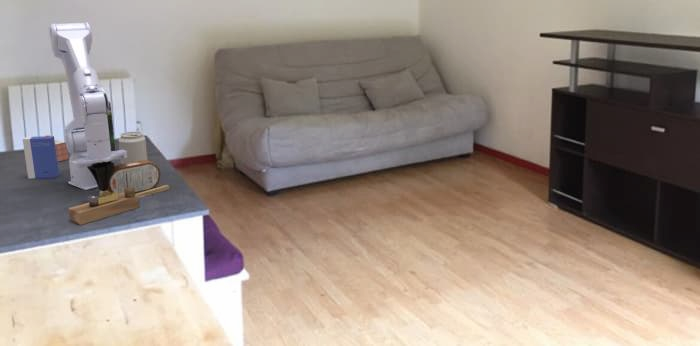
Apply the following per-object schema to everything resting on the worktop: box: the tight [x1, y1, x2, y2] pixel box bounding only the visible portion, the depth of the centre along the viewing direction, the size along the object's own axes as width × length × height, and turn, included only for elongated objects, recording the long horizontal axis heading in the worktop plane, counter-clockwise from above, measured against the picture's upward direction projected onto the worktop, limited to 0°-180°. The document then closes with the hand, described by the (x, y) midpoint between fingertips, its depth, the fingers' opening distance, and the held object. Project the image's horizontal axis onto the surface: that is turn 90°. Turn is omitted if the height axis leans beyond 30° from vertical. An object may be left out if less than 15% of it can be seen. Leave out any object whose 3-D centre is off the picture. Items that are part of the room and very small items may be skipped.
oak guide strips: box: [99, 184, 170, 199], centre depth 188 cm, size 10×15×1 cm, turn 140°
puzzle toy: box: [54, 139, 70, 163], centre depth 217 cm, size 6×6×6 cm
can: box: [117, 130, 148, 164], centre depth 202 cm, size 8×8×12 cm
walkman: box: [22, 134, 60, 180], centre depth 199 cm, size 8×3×12 cm, turn 96°
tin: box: [108, 159, 161, 194], centre depth 186 cm, size 15×3×8 cm, turn 130°
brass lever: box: [87, 192, 118, 206], centre depth 170 cm, size 7×2×2 cm, turn 138°
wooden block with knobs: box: [68, 187, 140, 226], centre depth 171 cm, size 5×16×5 cm, turn 140°
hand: (103, 190), depth 180 cm, fingers closed
